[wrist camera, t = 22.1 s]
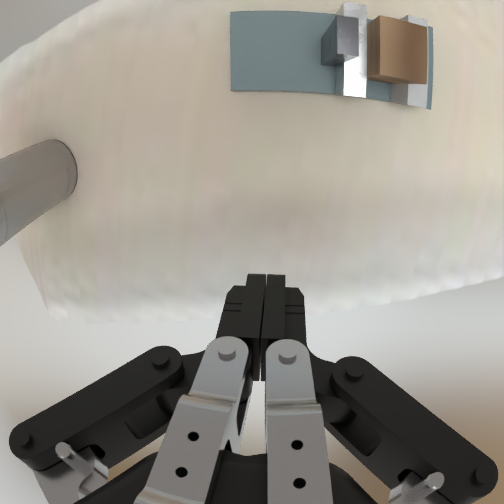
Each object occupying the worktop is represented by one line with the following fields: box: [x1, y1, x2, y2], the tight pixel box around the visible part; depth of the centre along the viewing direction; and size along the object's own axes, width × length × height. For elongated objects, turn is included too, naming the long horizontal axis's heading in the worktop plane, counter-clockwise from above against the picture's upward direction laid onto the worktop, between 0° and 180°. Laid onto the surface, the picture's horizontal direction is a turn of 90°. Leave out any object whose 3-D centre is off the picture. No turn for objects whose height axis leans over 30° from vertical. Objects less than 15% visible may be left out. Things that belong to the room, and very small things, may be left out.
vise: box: [230, 11, 433, 110], centre depth 23 cm, size 20×9×6 cm, turn 90°
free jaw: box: [321, 2, 367, 98], centre depth 20 cm, size 4×9×10 cm, turn 0°
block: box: [367, 15, 428, 84], centre depth 20 cm, size 4×5×9 cm
